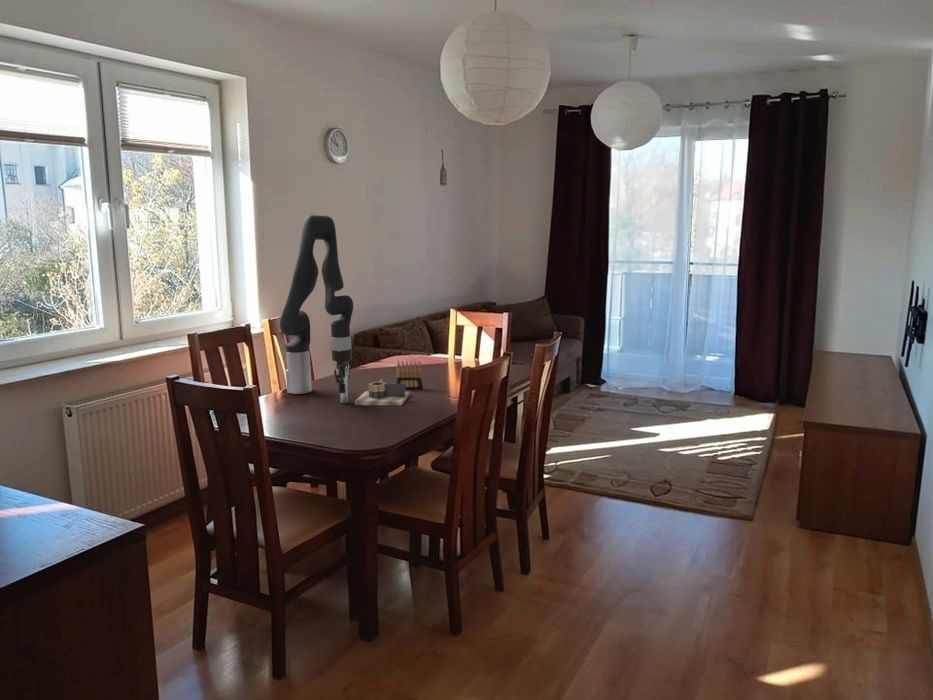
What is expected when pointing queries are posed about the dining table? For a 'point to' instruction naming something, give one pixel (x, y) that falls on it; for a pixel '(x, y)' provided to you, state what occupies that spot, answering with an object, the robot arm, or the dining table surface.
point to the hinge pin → (344, 395)
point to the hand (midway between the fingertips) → (343, 391)
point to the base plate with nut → (383, 394)
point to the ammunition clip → (410, 376)
